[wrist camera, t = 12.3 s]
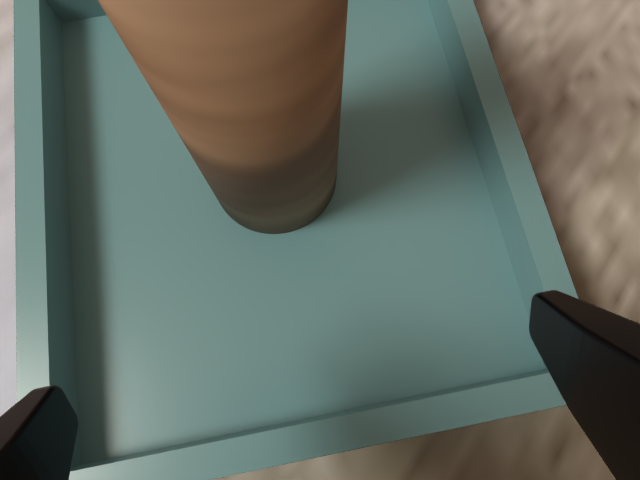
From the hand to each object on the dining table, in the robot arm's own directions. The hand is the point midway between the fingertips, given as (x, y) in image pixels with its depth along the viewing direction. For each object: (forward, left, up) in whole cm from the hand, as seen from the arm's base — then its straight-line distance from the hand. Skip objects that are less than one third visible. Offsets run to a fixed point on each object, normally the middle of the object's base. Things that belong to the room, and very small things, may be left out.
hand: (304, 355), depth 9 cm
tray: (+7, 0, -8) cm, 11 cm away
